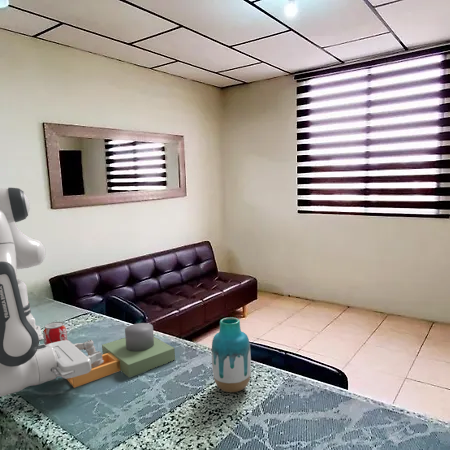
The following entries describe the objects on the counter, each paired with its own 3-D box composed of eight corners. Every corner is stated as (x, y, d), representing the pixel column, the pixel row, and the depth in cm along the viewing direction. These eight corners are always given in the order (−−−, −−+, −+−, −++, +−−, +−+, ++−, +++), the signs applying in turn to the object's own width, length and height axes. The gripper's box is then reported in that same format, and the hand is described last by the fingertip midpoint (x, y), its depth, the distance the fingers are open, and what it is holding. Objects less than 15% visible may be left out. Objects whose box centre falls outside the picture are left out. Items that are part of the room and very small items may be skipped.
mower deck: (81, 396, 101) (78, 361, 100) (59, 370, 116) (56, 339, 115) (175, 360, 120) (173, 330, 119) (145, 342, 135) (143, 315, 134)
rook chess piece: (93, 364, 117) (83, 341, 116) (106, 359, 116) (96, 336, 116) (87, 371, 112) (77, 346, 112) (101, 365, 112) (91, 341, 112)
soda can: (60, 365, 120) (56, 329, 119) (40, 363, 122) (37, 328, 120) (73, 355, 127) (70, 321, 126) (54, 354, 128) (51, 320, 127)
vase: (224, 403, 95) (221, 331, 93) (206, 384, 104) (203, 318, 102) (259, 391, 100) (256, 322, 98) (239, 374, 109) (237, 311, 107)
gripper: (56, 366, 96) (108, 349, 105) (36, 343, 112) (82, 330, 120) (58, 389, 97) (109, 371, 105) (38, 363, 112) (84, 349, 121)
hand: (95, 349), depth 113 cm, fingers open, 8 cm apart
